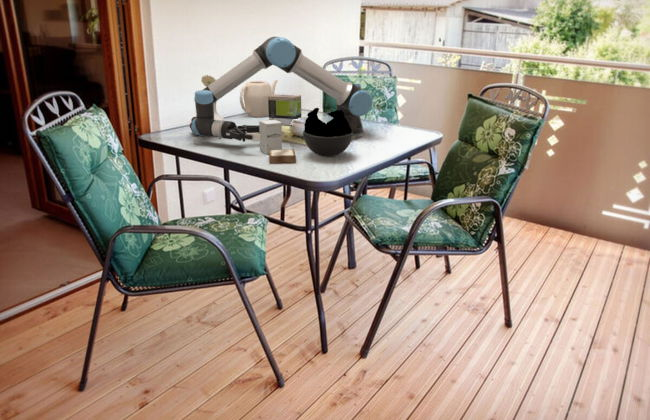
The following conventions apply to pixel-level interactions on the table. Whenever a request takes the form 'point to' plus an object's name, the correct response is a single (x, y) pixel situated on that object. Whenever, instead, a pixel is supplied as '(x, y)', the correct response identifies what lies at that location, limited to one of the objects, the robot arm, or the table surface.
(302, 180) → the table surface
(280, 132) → the supplement box
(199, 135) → the painted clay ocarina
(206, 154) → the table surface
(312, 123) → the bowl of black rocks
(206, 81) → the flower in vase
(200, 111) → the robot arm
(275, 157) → the walnut base
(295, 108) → the tea box
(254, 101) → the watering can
